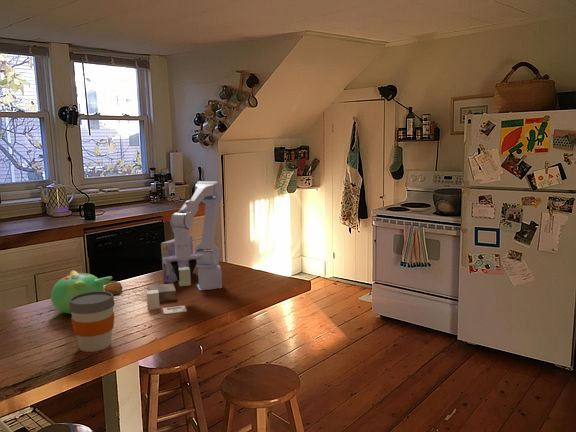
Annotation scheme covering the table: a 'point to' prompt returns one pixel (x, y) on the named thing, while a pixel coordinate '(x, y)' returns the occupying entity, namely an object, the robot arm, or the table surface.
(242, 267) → the table surface
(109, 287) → the pastry
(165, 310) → the card
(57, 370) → the table surface
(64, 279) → the green rounded plush
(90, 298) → the reusable coffee cup
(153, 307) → the cream block
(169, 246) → the cake pan box
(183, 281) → the sage block
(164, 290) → the taupe square block
